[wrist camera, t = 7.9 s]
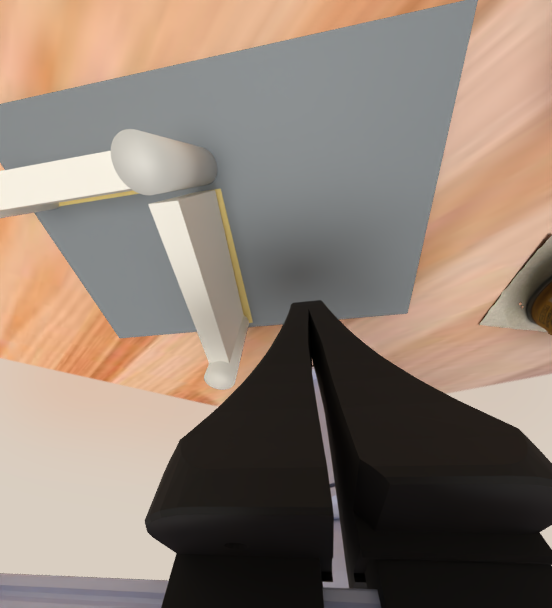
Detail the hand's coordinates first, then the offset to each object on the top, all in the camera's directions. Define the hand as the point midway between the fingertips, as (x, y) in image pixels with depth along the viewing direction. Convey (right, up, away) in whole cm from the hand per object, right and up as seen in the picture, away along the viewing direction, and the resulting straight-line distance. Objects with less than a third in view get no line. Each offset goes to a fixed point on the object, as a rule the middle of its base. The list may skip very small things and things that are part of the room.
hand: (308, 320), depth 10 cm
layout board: (-4, +6, +5) cm, 8 cm away
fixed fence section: (-11, +8, +3) cm, 14 cm away
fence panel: (-5, +3, +5) cm, 8 cm away
